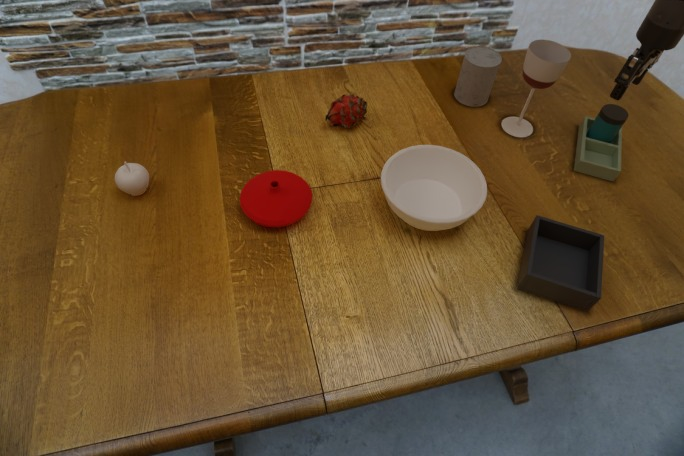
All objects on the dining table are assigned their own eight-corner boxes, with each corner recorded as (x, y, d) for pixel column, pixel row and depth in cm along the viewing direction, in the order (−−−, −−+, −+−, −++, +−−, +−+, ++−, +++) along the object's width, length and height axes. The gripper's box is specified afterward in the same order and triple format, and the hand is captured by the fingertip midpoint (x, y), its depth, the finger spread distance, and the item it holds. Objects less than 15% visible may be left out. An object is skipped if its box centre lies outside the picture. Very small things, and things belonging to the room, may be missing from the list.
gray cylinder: (481, 111, 125) (495, 71, 115) (449, 99, 127) (459, 59, 118) (492, 92, 130) (506, 53, 120) (460, 81, 133) (471, 42, 123)
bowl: (445, 265, 94) (455, 241, 88) (357, 212, 102) (359, 186, 95) (494, 200, 105) (505, 175, 99) (411, 156, 113) (416, 130, 107)
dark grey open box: (591, 250, 98) (604, 235, 93) (587, 312, 89) (601, 298, 84) (527, 230, 100) (536, 214, 96) (516, 288, 92) (526, 274, 87)
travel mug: (610, 135, 119) (628, 107, 112) (609, 151, 116) (628, 123, 109) (585, 129, 121) (602, 101, 113) (584, 144, 117) (601, 116, 110)
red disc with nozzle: (291, 244, 96) (289, 223, 91) (227, 218, 100) (221, 196, 94) (324, 193, 105) (324, 171, 99) (264, 171, 109) (261, 148, 103)
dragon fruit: (369, 122, 123) (329, 139, 121) (357, 93, 122) (316, 109, 120) (377, 114, 114) (334, 132, 112) (364, 82, 114) (320, 100, 112)
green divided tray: (615, 135, 121) (622, 125, 118) (613, 181, 110) (621, 171, 108) (578, 126, 122) (584, 115, 120) (573, 170, 112) (580, 160, 109)
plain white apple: (151, 174, 107) (140, 149, 100) (156, 196, 103) (145, 171, 96) (119, 182, 105) (106, 157, 99) (123, 204, 101) (110, 179, 95)
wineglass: (514, 111, 125) (545, 35, 108) (542, 130, 121) (579, 54, 103) (492, 122, 122) (520, 46, 104) (520, 143, 117) (554, 67, 100)
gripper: (672, 39, 82) (624, 112, 95) (705, 13, 88) (655, 85, 101) (632, 21, 85) (591, 95, 98) (666, -2, 91) (623, 70, 104)
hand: (624, 90), depth 99 cm, fingers open, 8 cm apart
